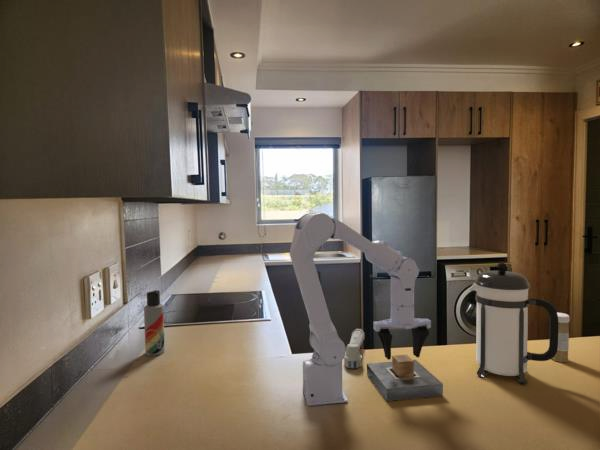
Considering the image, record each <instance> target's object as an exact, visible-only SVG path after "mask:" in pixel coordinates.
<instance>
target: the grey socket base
mask: <svg viewBox="0 0 600 450" xmlns="http://www.w3.org/2000/svg"><path fill="white" fill-rule="evenodd" d="M412 360H413V361H414V376H411V377H400V378H397V377H396V376H395V375H394V374H393V373H392V361H384V362H373V363H372V362H371V363H370V362H369V363H366V375H367V376H368V378H369V380H370V381H371V383H372V384H375V385H374V386H375V388H376V389H377V388H378V389H377V390H378V392H379V391H380V392H381V393H380V392H379V393H380V394H381V396H382V395H383V396H382V397H383V398H384V399H386V400H385V401H386V402H393V400H397V401H404V399H407V400H414V399H413V398H417V399H424V398H423V397H427V398H434V397H435V398H437V397H443V396H444V389H443V388H444V384H443V382H442V381H441V380H439V379H438V378H437V377H436V376H435V375H434V374H433V373H431V372H430V371H429V370H428V369H427V368H425V366H423V365H422V364H421V362H419V361H418V360H417V359H412Z"/></svg>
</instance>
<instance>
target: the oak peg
mask: <svg viewBox="0 0 600 450" xmlns="http://www.w3.org/2000/svg"><path fill="white" fill-rule="evenodd" d="M413 360H414V359H412V357H410V356H409V355H408V354H397V355H391V362H392V373H393V374H394V375H395V376H396V377H397V378H400V377H411V376H414V361H413Z"/></svg>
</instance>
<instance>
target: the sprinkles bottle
mask: <svg viewBox="0 0 600 450" xmlns="http://www.w3.org/2000/svg"><path fill="white" fill-rule="evenodd" d="M556 312H557V311H556ZM557 315H558V349H557V353H556V355H555V356H554V357H553V358H552V359H551V360H552V361H555V362H558V363H559V362H560V363H568V362H569V345H570V344H569V343H570V342H569V341H570V332H569V329H570V328H569V327H570V325H569V324H570V321H571V320H570V315H569V314H567V313H564V312H557Z"/></svg>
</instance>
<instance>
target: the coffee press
mask: <svg viewBox="0 0 600 450" xmlns="http://www.w3.org/2000/svg"><path fill="white" fill-rule="evenodd" d="M496 268H497V269H498V270H486V271H483V272H480V273H479V274H478V276H477V277H476V279H474V283H473V284H472V285H471V286H470V287H469V290H470V291H475V292H476V293H475V301H476V325H475V326H476V332H475V333H476V335H475V336H476V339H475V340H476V341H475V342H476V343H475V344H476V346H475V347H476V348H475V349H476V350H475V353H476V355H475V356H476V363H477V364H478V366H479V368H478V369H477V372H476V375H477V376H479V377H480V378H485V377H486V375H488V373H491V374H495V375H498V376H505V377H514V378H515V379H516V380H517V382H518V384H519V385H520V386H522V385H526V384H528V379H527V377H526V376H525V373H526V372H527V370H528V362H529V361H536V362H547V361H549V360H552V358H553V357H554V356H555V355H556V353H557V349H558V315H557V310H556V308H555V307H554V305H553V304H551V303H550V302H549V301H547V300H544V299H541V298H530V297H529V289H530V288H531V283H530V282H529V281H528V278H527V277H525V276H524V275H522V274H521V273H518V272H516V271H515V272H514V271H508V270H506V269H507V268H508V266H507V264H506V263H505V262H499V263H497V265H496ZM530 305H531V306H536V307H542V308H544V309H545V310H546V311H547V313H548V314H549V340H548V341H549V343H548V344H549V347H548V349H547V350H546V351H545V352H543V353H536V352H529V351H528V335H529V334H528V330H529V329H528V324H529V322H528V320H529V318H528V316H529V312H528V310H529V309H528V307H529V306H530Z"/></svg>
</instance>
